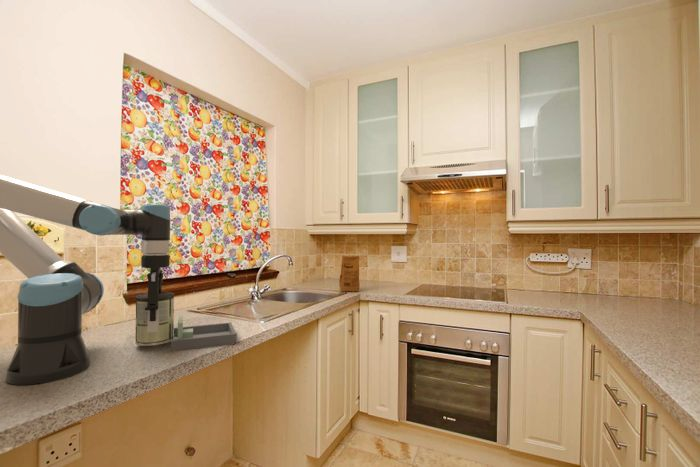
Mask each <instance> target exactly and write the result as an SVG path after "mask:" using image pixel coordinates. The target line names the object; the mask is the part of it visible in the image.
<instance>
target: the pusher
mask: <svg viewBox="0 0 700 467" xmlns="http://www.w3.org/2000/svg"><path fill="white" fill-rule="evenodd" d="M177 327H178V339H185V338H193V328H192V329H183V327H184V314H183V313H182V314H181V313H180V314H178V321H177Z"/></svg>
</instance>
